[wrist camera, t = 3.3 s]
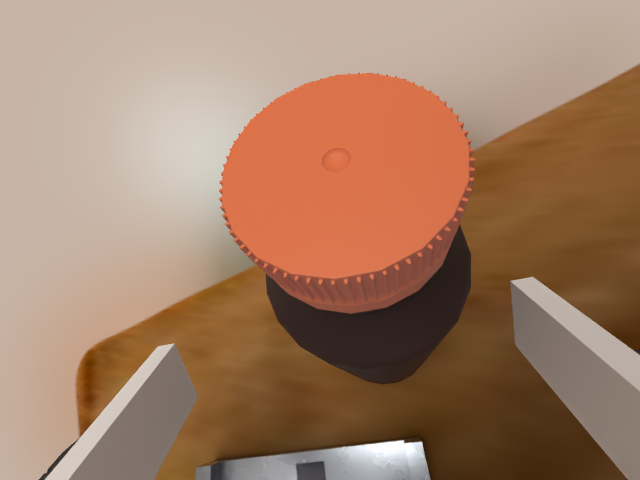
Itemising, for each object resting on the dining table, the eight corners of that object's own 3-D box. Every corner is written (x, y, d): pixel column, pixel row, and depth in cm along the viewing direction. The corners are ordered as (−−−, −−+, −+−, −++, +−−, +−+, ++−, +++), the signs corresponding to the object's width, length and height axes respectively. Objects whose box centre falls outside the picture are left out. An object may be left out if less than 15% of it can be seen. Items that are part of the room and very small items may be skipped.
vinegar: (395, 406, 22) (392, 460, 4) (317, 344, 24) (112, 213, 7) (447, 323, 23) (610, 94, 6) (368, 273, 26) (309, 15, 8)
